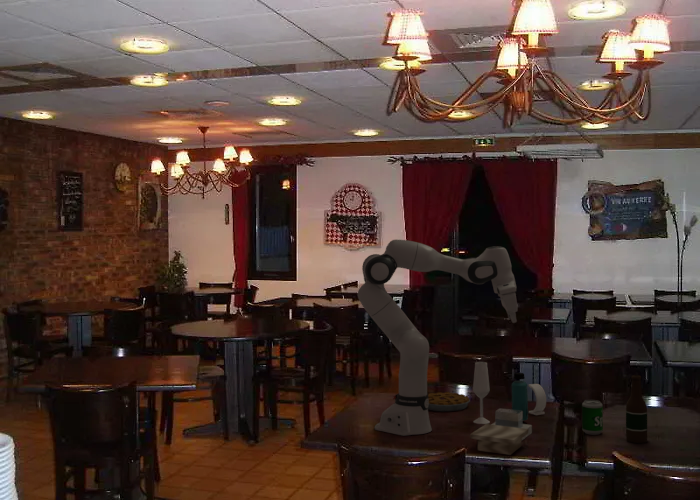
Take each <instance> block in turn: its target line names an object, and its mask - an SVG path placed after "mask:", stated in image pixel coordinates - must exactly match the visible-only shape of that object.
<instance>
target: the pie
mask: <svg viewBox="0 0 700 500" xmlns="http://www.w3.org/2000/svg"><path fill="white" fill-rule="evenodd" d="M427 394H428V400H429V405H428V411H429V410H430V411H433V412H457V411H461V410H465V409H467V407H468V406H469V405H468V404H470V403H471V399H470V397H469V396H468V395H465V394H463V393H461V394H459V393H458V392H449V391H445V392H441V391H437V392H436V393H434V392H429V393H427Z"/></svg>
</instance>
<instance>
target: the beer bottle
mask: <svg viewBox="0 0 700 500" xmlns="http://www.w3.org/2000/svg"><path fill="white" fill-rule="evenodd" d="M630 378H631V393H630V397H629V398H628V400H627V402H626V404H625V438H626V441H627V442H629V443H633V444H645V443H647V442H648V406H647V404H646V402H645V400H644V398H643V395H642V394H643V393H642V381H641V380H642V376H641V375H638V374H633V375H631V377H630Z"/></svg>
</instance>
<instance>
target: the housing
mask: <svg viewBox="0 0 700 500" xmlns="http://www.w3.org/2000/svg"><path fill="white" fill-rule="evenodd" d="M494 413H495V414H494V415H495V419H494V420H495V421H494V422H495V425H499V426H508V427H516V428H521V427H523V424H524V423H523V411H520V410H512V408H511V409H509V408H500V407H499V408H498V409H497V410H495V412H494Z"/></svg>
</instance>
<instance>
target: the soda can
mask: <svg viewBox="0 0 700 500" xmlns="http://www.w3.org/2000/svg"><path fill="white" fill-rule="evenodd" d="M603 408H604V406H603V403H602V402H601V401H600V400H598V399H597V400H596V399H585V400H584V401H583V402H582V404H581V411H582V412H581V427H582V428H581V429H582V431H583V432H584V434H586V435H592V436H597V435H601V433H602V432H603V431H604V412H603V411H604V409H603Z"/></svg>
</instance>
